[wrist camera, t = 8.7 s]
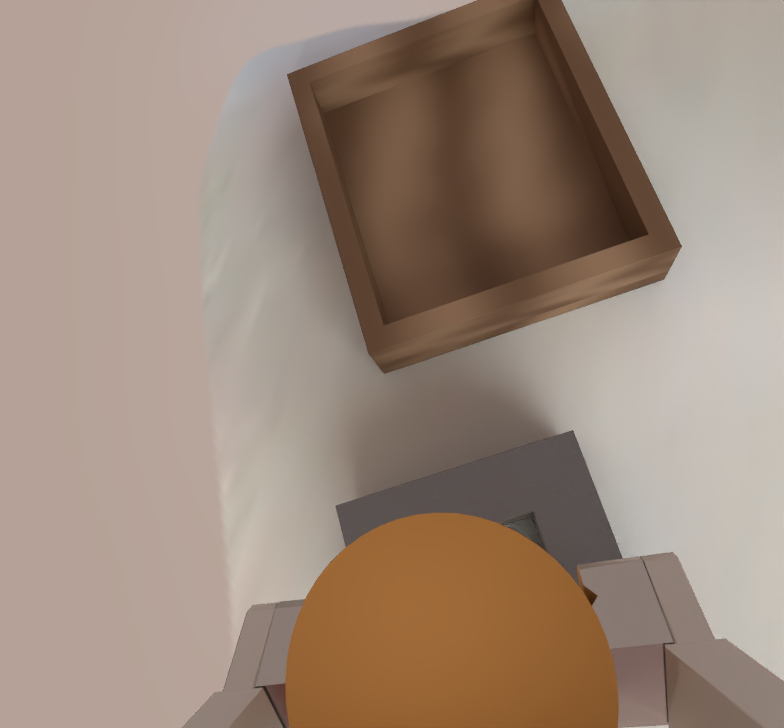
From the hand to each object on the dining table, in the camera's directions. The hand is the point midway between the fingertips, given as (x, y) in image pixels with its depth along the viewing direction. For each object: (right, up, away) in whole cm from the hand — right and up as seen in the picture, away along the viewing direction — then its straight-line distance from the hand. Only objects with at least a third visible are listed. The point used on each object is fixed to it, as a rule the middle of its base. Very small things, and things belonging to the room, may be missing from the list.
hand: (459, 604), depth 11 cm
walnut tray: (+3, +13, +23) cm, 26 cm away
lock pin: (+2, -3, +8) cm, 9 cm away
